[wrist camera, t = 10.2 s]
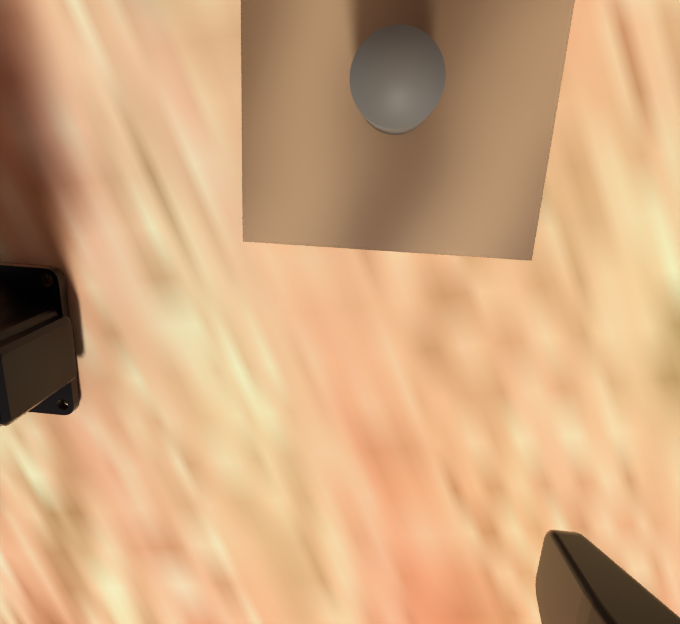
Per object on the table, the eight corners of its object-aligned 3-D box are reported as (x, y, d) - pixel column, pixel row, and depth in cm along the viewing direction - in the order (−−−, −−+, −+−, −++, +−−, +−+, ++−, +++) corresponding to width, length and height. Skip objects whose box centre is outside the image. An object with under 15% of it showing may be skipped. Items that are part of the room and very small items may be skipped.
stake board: (253, 235, 19) (208, 260, 14) (253, -74, 16) (196, -170, 11) (520, 252, 18) (565, 285, 14) (571, -69, 15) (651, -169, 11)
